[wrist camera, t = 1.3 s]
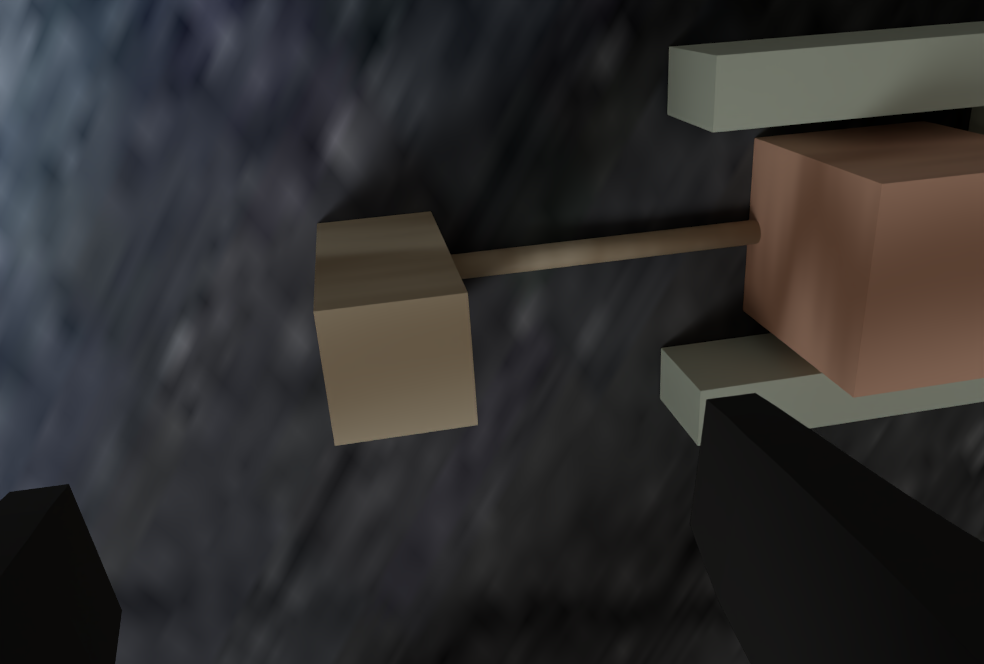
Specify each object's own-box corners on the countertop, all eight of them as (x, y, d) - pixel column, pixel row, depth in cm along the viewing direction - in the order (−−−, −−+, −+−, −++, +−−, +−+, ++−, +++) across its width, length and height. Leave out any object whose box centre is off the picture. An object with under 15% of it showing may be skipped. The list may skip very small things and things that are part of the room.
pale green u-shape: (976, 352, 23) (1045, 391, 21) (659, 398, 22) (697, 446, 20) (1042, 16, 20) (1134, 20, 18) (669, 46, 18) (716, 55, 16)
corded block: (898, 289, 22) (1064, 378, 17) (338, 363, 20) (341, 490, 15) (924, 120, 20) (1117, 165, 15) (311, 182, 18) (305, 257, 13)
